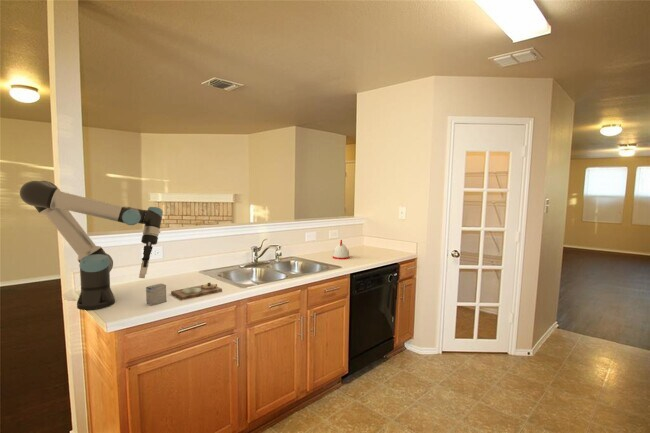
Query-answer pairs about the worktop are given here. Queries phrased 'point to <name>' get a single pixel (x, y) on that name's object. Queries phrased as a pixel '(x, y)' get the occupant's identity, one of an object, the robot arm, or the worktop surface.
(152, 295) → the medicine box
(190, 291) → the gear board
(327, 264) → the worktop surface
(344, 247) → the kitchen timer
